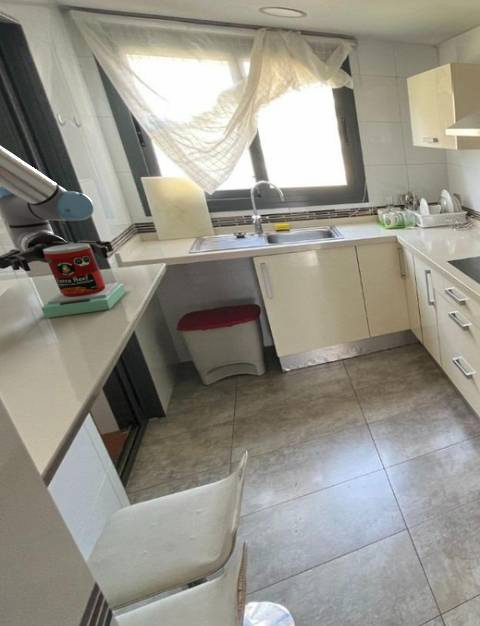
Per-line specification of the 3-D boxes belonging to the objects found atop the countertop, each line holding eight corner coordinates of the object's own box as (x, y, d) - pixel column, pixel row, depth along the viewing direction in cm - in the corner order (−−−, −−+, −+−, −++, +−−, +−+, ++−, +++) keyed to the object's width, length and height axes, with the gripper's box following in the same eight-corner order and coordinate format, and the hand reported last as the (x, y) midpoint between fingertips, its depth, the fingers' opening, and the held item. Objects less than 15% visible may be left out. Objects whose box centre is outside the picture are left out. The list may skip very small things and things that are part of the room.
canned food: (55, 299, 105) (34, 252, 101) (72, 288, 112) (53, 244, 108) (98, 294, 108) (79, 249, 104) (112, 284, 115) (95, 241, 111)
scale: (45, 318, 103) (40, 305, 102) (68, 299, 114) (63, 288, 113) (109, 309, 108) (105, 297, 107) (125, 292, 119) (121, 281, 118)
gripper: (112, 251, 132) (138, 262, 120) (-20, 272, 112) (-4, 287, 101) (102, 225, 129) (128, 233, 118) (-35, 242, 110) (-20, 254, 98)
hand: (67, 258), depth 109 cm, fingers open, 13 cm apart
